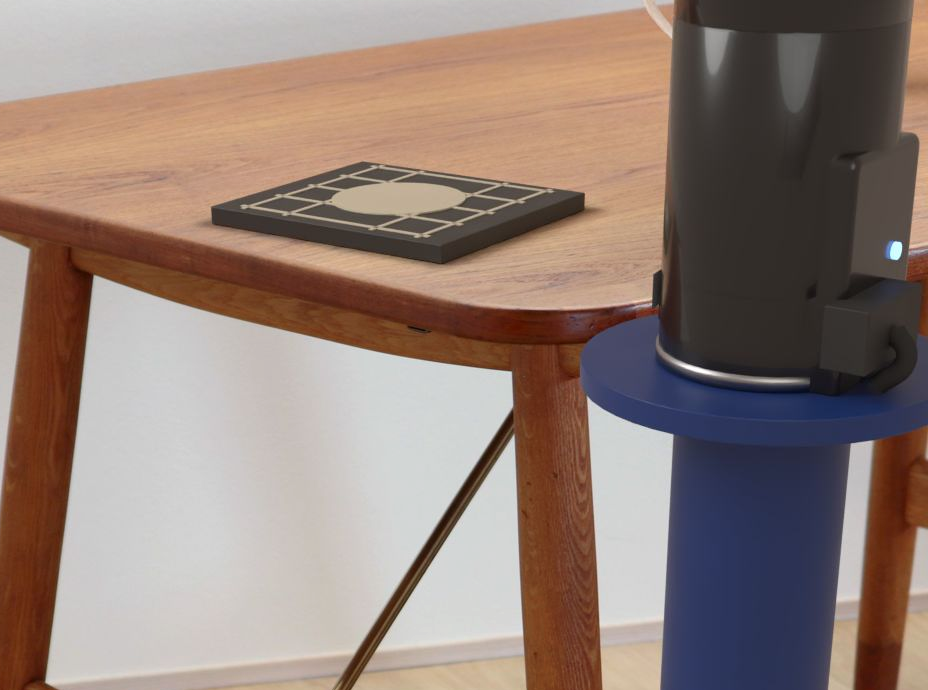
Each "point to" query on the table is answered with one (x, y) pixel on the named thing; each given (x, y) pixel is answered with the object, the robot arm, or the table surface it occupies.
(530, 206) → the board
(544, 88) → the table surface
